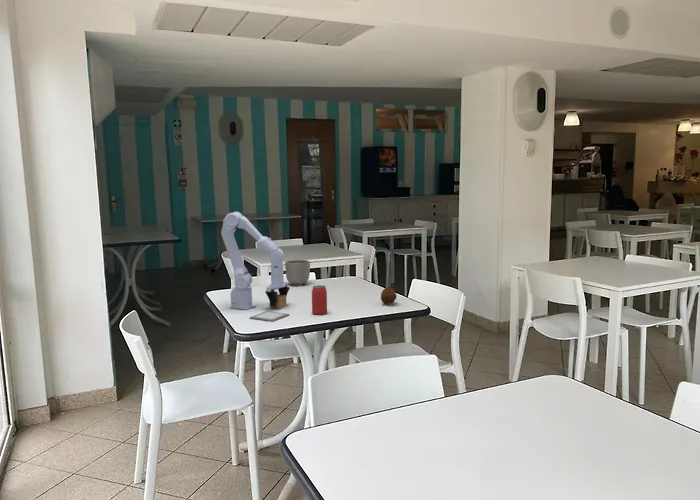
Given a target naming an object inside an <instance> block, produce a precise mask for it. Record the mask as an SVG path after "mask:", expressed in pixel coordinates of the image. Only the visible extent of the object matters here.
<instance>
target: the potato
mask: <svg viewBox="0 0 700 500" xmlns="http://www.w3.org/2000/svg"><path fill="white" fill-rule="evenodd" d="M396 299H397V293H396V292H395V290H394V289H393V288H392V287H385V288H384V289H382V292H381V294H380V301H381V303H383V304H388V305H389V304H392V303H394V302H395V301H396Z"/></svg>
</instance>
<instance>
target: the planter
mask: <svg viewBox="0 0 700 500" xmlns="http://www.w3.org/2000/svg"><path fill="white" fill-rule="evenodd" d="M284 269H285V276H286V281H287V282H288V283H290V285H291V286H293V285H302V286H304V285H305V284H306V283H307V282H308V281H309V278H310V271H311V261H310V260H307V259H292V260H286V261H284ZM303 284H304V285H303Z"/></svg>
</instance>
